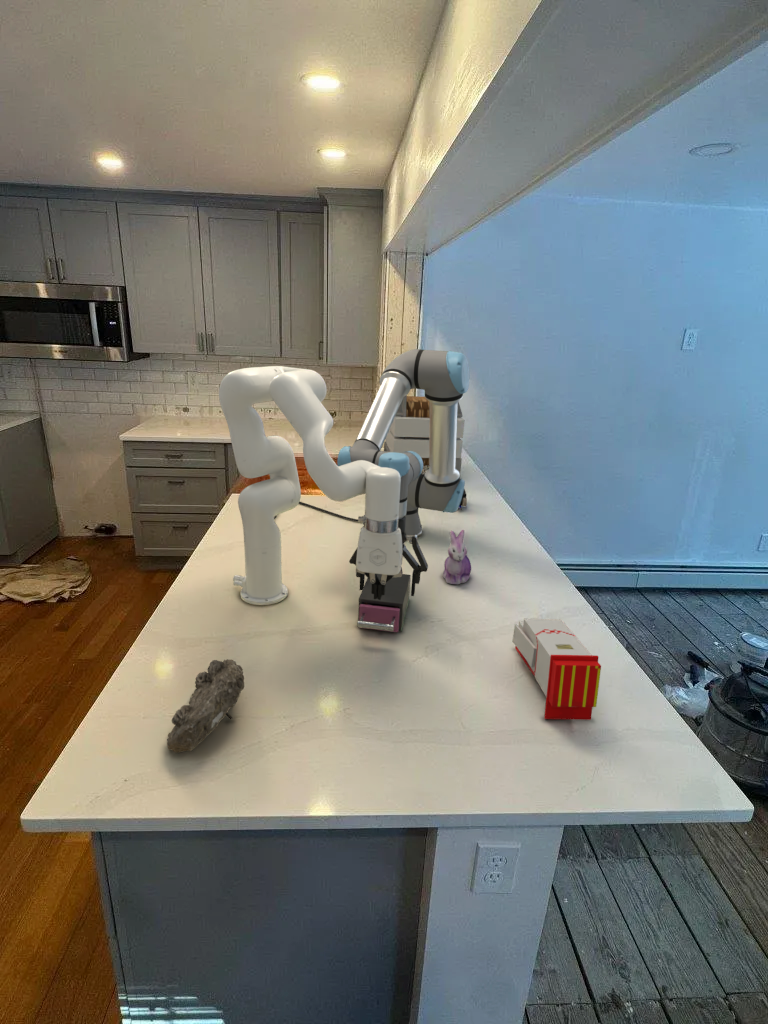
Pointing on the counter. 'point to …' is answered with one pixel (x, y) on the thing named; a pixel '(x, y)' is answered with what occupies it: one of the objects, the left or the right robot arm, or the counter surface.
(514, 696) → the counter surface
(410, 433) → the white slatted crate
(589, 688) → the toy
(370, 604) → the drawer
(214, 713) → the fossil
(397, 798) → the counter surface
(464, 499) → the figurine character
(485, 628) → the counter surface
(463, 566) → the figurine
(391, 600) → the cabinet
